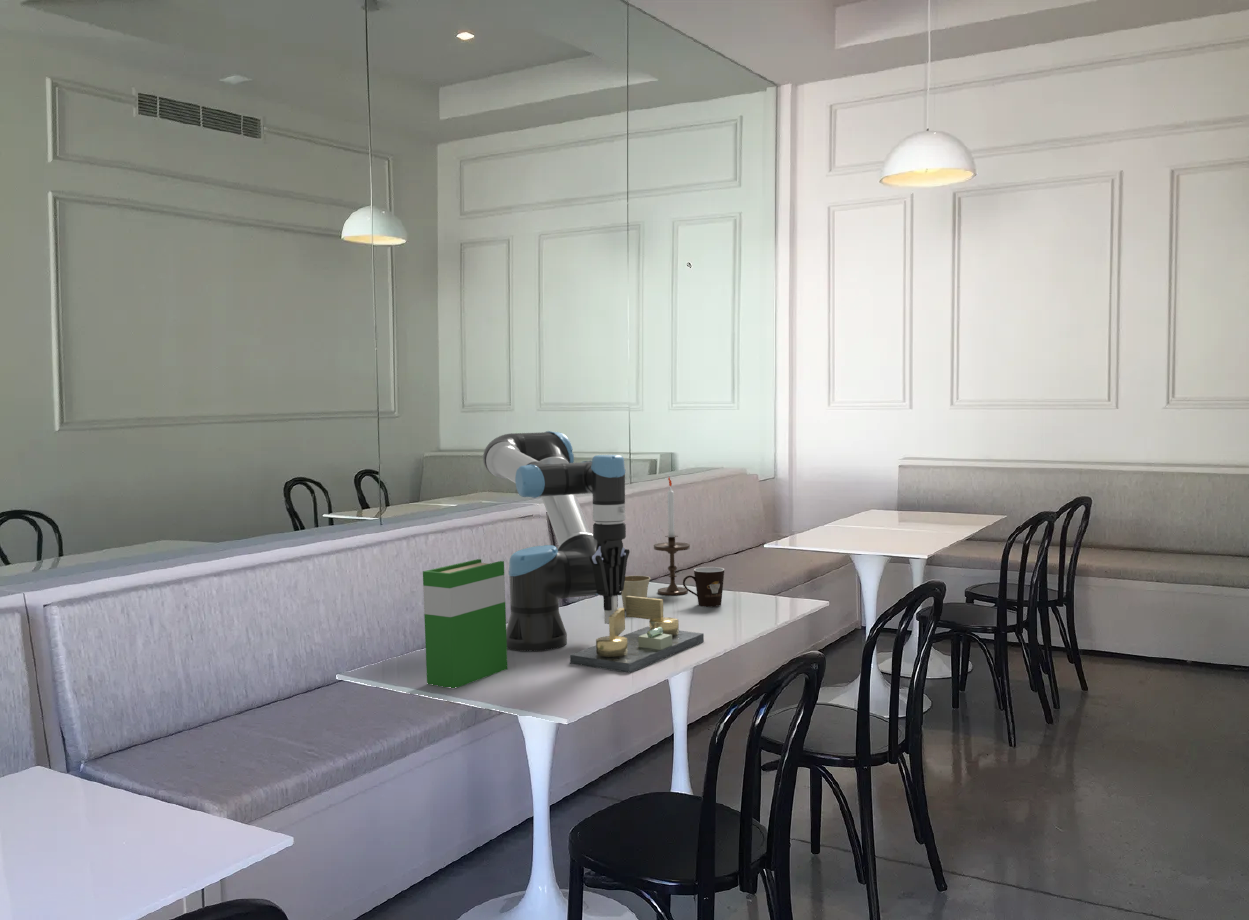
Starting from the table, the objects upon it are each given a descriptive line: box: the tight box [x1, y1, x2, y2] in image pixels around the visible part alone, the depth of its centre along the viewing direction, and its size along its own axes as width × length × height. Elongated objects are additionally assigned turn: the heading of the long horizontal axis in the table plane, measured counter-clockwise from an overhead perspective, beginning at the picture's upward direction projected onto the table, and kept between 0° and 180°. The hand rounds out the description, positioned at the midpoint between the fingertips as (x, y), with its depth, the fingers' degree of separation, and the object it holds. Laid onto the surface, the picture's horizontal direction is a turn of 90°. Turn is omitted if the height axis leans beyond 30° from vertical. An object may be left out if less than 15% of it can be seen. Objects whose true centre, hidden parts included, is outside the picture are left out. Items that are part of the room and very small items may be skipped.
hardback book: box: [422, 558, 508, 689], centre depth 227 cm, size 18×7×24 cm, turn 147°
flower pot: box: [620, 575, 651, 611], centre depth 294 cm, size 9×9×9 cm
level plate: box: [569, 626, 705, 674], centre depth 244 cm, size 32×16×6 cm, turn 146°
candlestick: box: [653, 476, 691, 597], centre depth 315 cm, size 11×11×35 cm
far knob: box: [625, 596, 680, 636], centre depth 255 cm, size 14×7×8 cm, turn 56°
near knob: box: [595, 607, 628, 657], centre depth 239 cm, size 14×7×8 cm, turn 167°
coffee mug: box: [682, 566, 725, 608], centre depth 297 cm, size 12×9×10 cm
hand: (611, 623), depth 244 cm, fingers closed
